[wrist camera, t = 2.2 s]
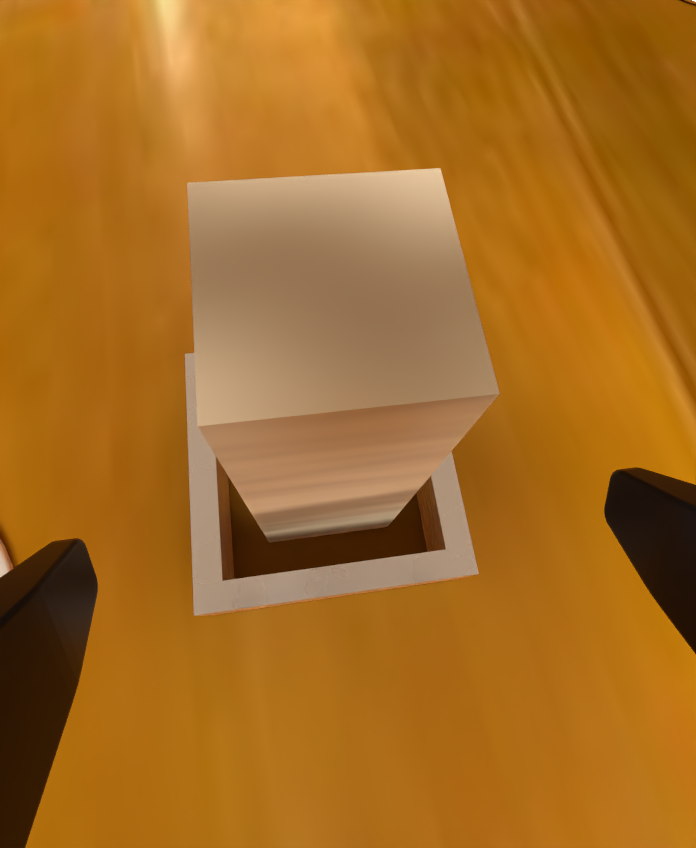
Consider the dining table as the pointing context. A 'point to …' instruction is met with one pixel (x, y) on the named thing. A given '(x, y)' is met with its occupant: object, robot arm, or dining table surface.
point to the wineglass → (691, 1)
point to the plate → (4, 560)
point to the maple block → (332, 343)
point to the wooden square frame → (226, 594)
